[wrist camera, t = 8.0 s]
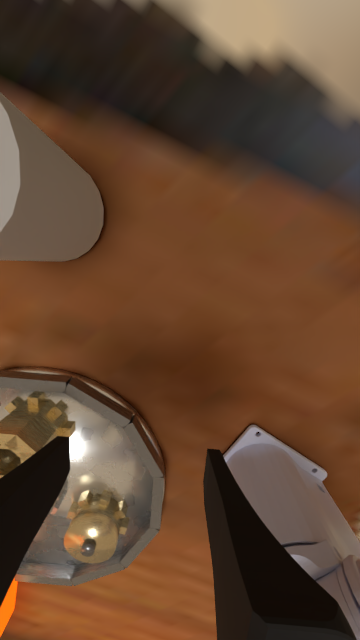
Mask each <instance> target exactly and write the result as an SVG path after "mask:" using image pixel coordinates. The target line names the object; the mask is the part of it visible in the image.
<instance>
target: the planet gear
mask: <svg viewBox="0 0 360 640" xmlns="http://www.w3.org/2000/svg"><path fill="white" fill-rule="evenodd" d="M67 407H68V406H67V405H66V404H65V403H64V402H63V401H62V400H60V401H59V402H58V403H57V404H55V403H54V402H53V401H52V400H50V399H45V393H44V392H38V391H34V392H33V393H32V394H31V395H29V396H28V397H27V399H26V400H25V401H23V400H22V399H21V398H20V397H19V396H18V397H16V398H15V399H14V400H13V401H11V402H10V403H9V404H8V405H7V406H6V407H4V408H5V409H6V410H7V411H8V412H9V413H10V414H9V415H7V416H5V417H4V418H3V419H2V420H1V421H0V478H2V477H3V476H5V475H6V474H7V473H9V472H10V471H12V470H13V469H15V468H16V467H17V466H19V465H20V464H21V463H23V462H24V461H25V460H27V459H28V458H29V457H31V456H32V455H33V454H35V453H36V452H37V451H39V450H40V449H41V448H43V447H44V446H45V445H46V444H48V443H49V442H50V441H52V440H53V439H54V438H56V437H57V436H65V437H71V436H72V434H73V433H74V431H75V421H68V415H67V414H66V413H65V412H64V411H65V410H66V409H67ZM13 452H14V453H15V454H16V455H17V456H16V455H15V454H14V453H13Z"/></svg>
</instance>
